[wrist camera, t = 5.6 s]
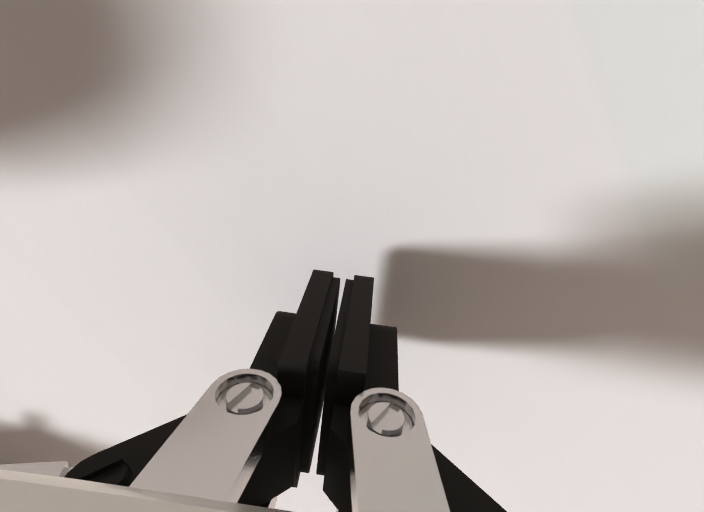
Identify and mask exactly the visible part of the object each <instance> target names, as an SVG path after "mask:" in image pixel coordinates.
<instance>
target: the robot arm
mask: <svg viewBox="0 0 704 512" xmlns="http://www.w3.org/2000/svg"><path fill="white" fill-rule="evenodd" d="M373 283H374V278H372V277H365V276H357V275H355V276H354V280H349V279H346V282H345V287H344V292H343V297H342V301H341V306H340V311H339V315H338V320H337V325H336V330H335V324H336V315H337V305H338V296H339V287H340V278H334V277H333V272H328V271H320V270H313V272H312V275H311V278H310V280H309V283H308V285H307V288H306V290H305V293H304V296H303V298H302V301H301V303H300V306H299V309H298V311H297V314H295V313H288V312H281V311H278V312H277V313H276V314H275V316H274V318H273V320H272V323H271V325H270V327H269V329H268V331H267V333H266V335H265V337H264V339H263V342H262V344H261V346H260V348H259V350H258V352H257V354H256V356H255V358H254V361H253V363H252V365H251V367H250V369H239V370H236V371H232V372H229V373H227V374H225V375H223V376H221V377H219V378H218V379H217V380H216V381H215V382H214V383H213V384H212V385H211V386H210V387H209V388H208V390H207V391H206V392H205V393H204V395H203V396H202V397H201V398H200V399H199V401H198V402H197V403H196V404H195V406H194V407H193V408H192V409H191V411H190V412H189V413H188V414H187V415H185V416H182V417H180V418H178V419H175V420H173V421H171V422H168V423H166V424H164V425H161V426H159V427H157V428H154V429H152V430H150V431H147V432H145V433H143V434H140V435H138V436H136V437H133V438H131V439H129V440H126V441H124V442H122V443H119V444H117V445H115V446H112V447H110V448H108V449H105V450H103V451H101V452H98V453H96V454H94V455H92V456H90V457H88V458H87V459H85V460H83V461H81V462H80V463H78V464H77V465H76V466H75V467H69V466H68V462H67V461H53V462H36V463H18V464H0V512H291V511H285V510H279V509H274V508H275V504H276V501H277V496H278V495H279V494H281V493H282V492H284V491H286V490H287V489H289V488H290V487H296V488H297V485H298V480H299V476H300V472H305V473H309V471H310V466H311V462H312V457H313V452H314V447H315V442H316V437H317V432H318V427H319V422H320V417H321V412H322V407H323V414H322V424H321V433H320V443H319V453H318V462H317V472H316V474H318V475H324V484H323V491H324V492H325V494H326V495H327V496H328V498H329V499H330V500H331V501H332V503H333V504H334V505H335V507H336V508H337V511H336V512H507V511H506V510H504V509H503V508H502V507H501V506H500V505H499V504H498V503H497V502H495V501H494V500H493V499H492V498H491V497H490V496H489V495H488V494H487V493H485V492H484V491H483V490H482V489H481V488H480V487H479V486H478V485H476V484H475V483H474V482H473V481H472V480H471V479H470V478H469V477H467V476H466V475H465V474H464V473H463V472H462V471H461V470H460V469H458V468H457V467H456V466H455V465H454V464H453V463H452V462H451V461H449V460H448V459H447V458H446V457H445V456H444V455H443V454H442V453H440V452H439V451H438V450H437V449H436V448H435V447H434V446H433V445H431V443H430V439H429V436H428V432H427V428H426V425H425V421H424V418H423V415H422V412H421V410H420V408H419V406H418V405H417V404H416V403H415V402H414V401H413V400H412V399H411V398H410V397H408V396H407V395H405V394H404V393H402V392H399V388H398V349H397V328H396V327H389V326H382V325H375V324H370V321H371V309H372V296H373ZM334 333H335V334H334ZM323 402H324V404H323Z"/></svg>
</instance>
